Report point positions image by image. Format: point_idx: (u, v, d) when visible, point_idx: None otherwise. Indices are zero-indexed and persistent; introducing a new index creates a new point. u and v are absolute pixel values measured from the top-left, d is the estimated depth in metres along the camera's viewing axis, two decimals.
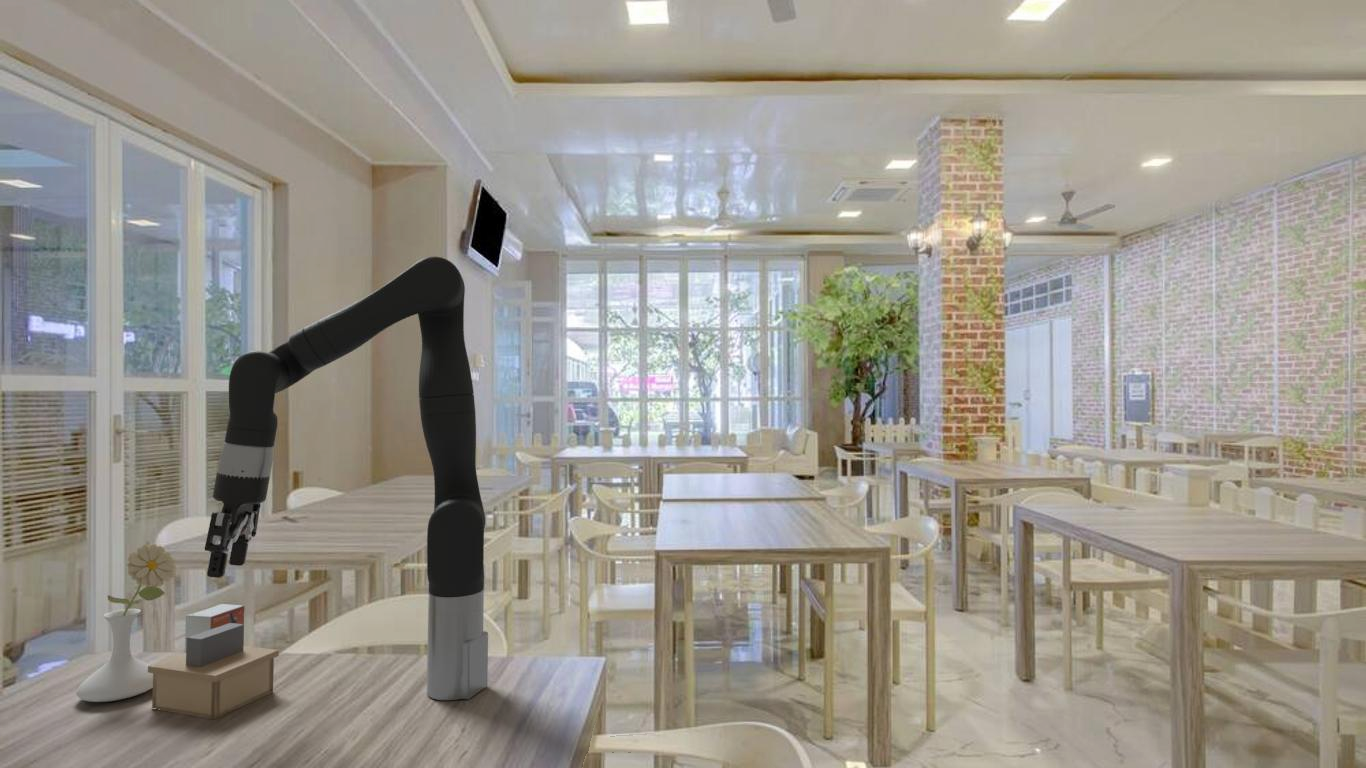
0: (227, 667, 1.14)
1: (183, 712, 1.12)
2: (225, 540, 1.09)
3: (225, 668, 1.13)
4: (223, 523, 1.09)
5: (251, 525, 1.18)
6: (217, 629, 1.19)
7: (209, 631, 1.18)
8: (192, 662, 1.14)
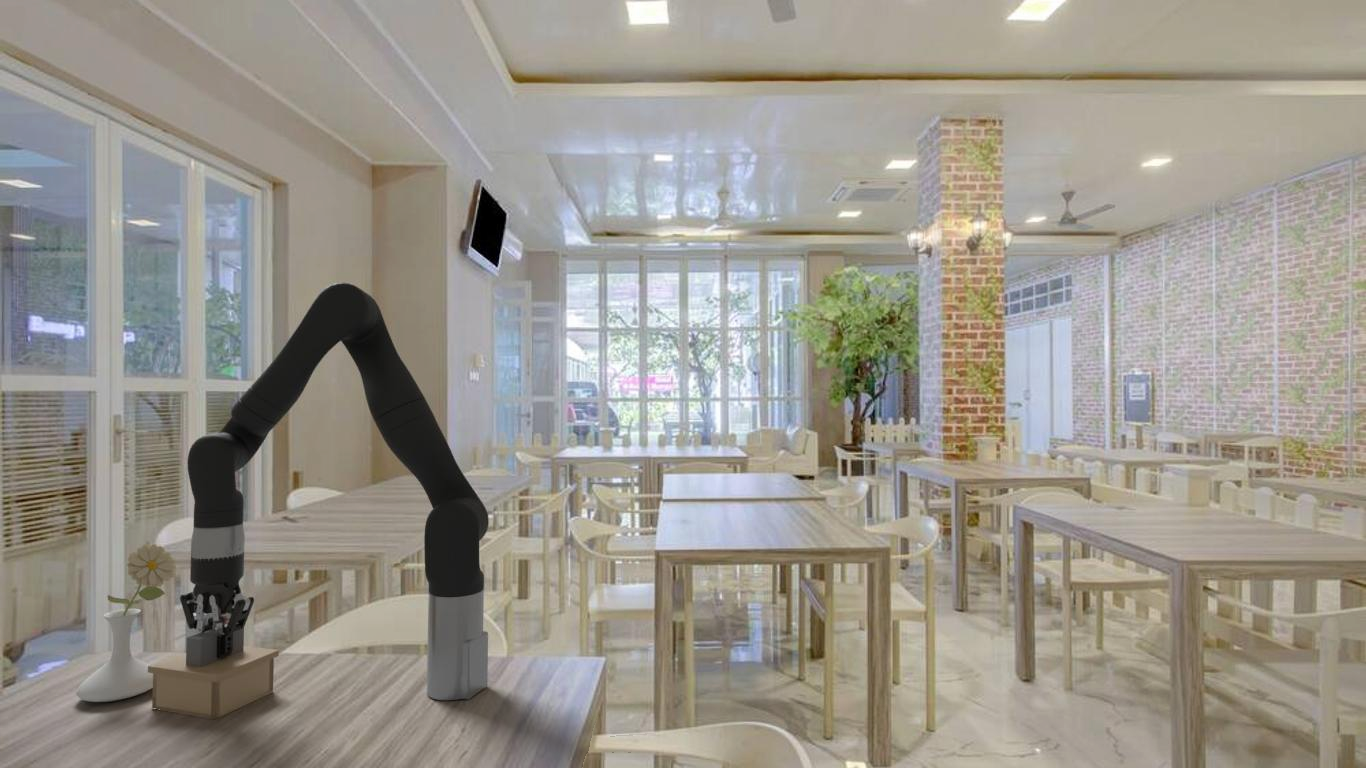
0: (227, 667, 1.14)
1: (183, 712, 1.12)
2: None
3: (225, 668, 1.13)
4: (249, 607, 1.17)
5: None
6: None
7: (209, 631, 1.18)
8: (192, 662, 1.14)
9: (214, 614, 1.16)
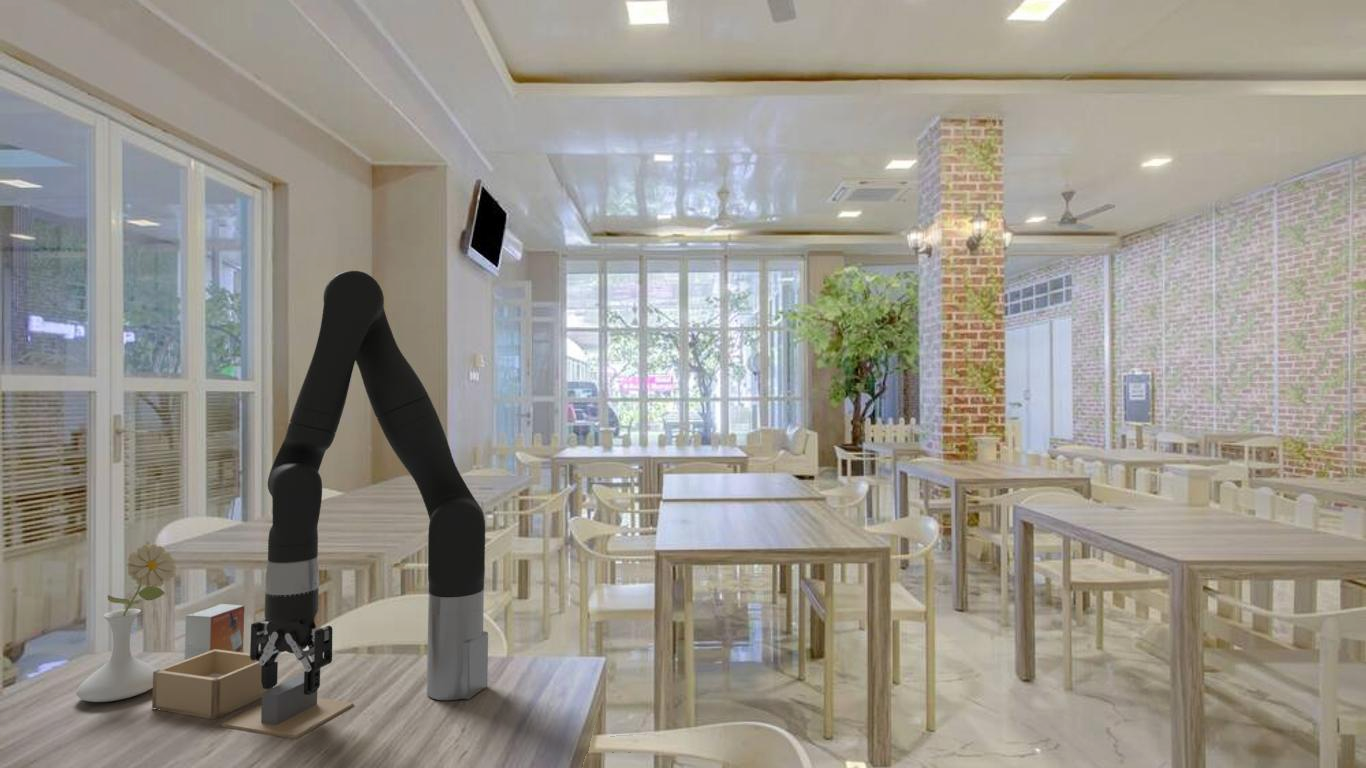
0: (305, 725, 1.08)
1: (183, 712, 1.12)
2: None
3: (303, 726, 1.07)
4: (329, 636, 1.11)
5: None
6: (292, 682, 1.13)
7: (283, 685, 1.12)
8: (268, 719, 1.08)
9: (295, 651, 1.10)
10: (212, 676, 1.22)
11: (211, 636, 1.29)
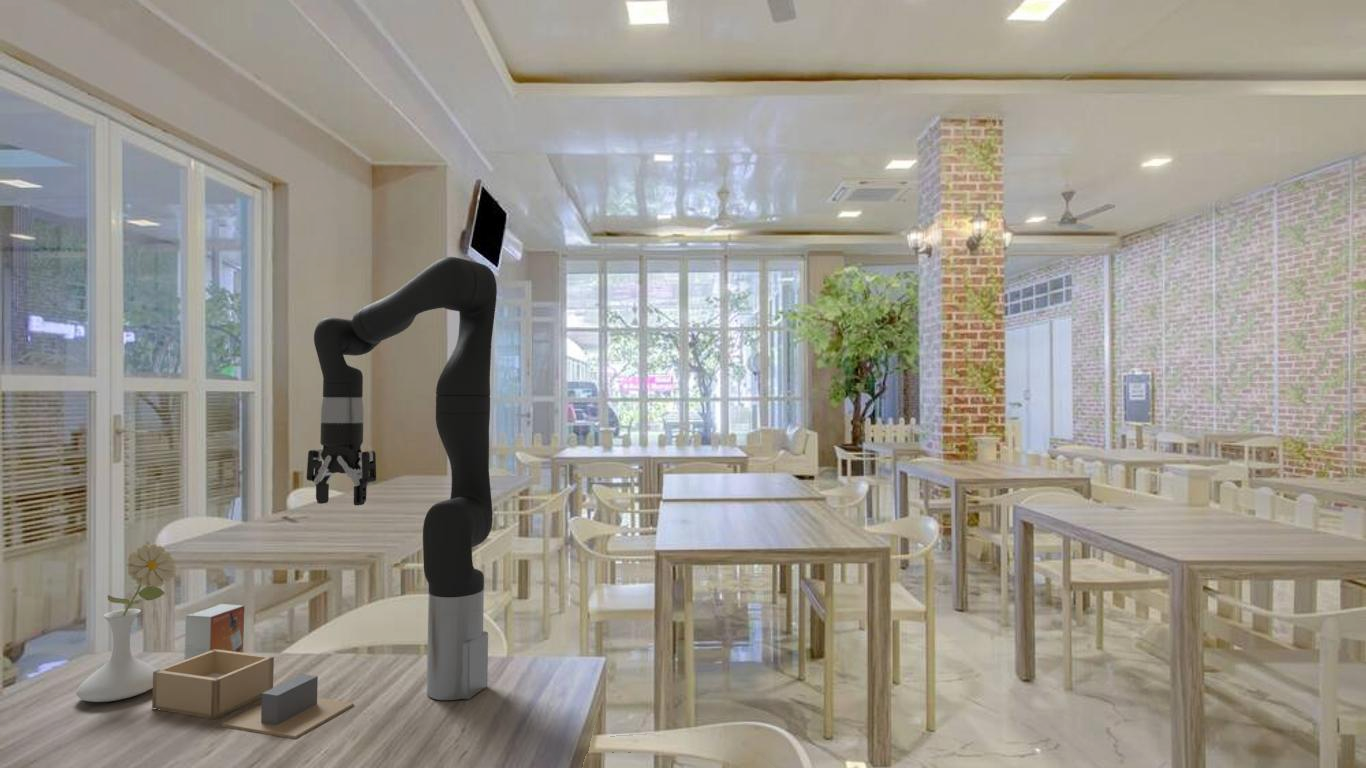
0: (304, 725, 1.08)
1: (183, 712, 1.12)
2: None
3: (303, 727, 1.07)
4: (373, 458, 1.36)
5: None
6: (292, 682, 1.13)
7: (283, 685, 1.12)
8: (268, 719, 1.08)
9: (346, 470, 1.35)
10: (212, 676, 1.22)
11: (211, 636, 1.29)
